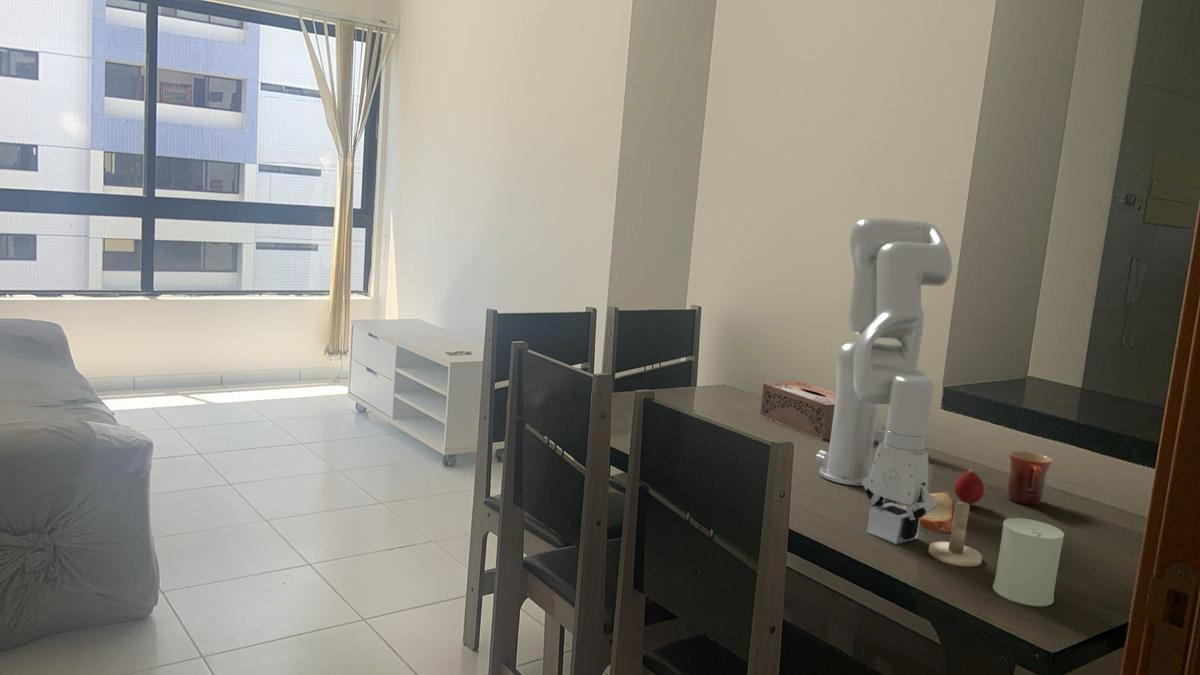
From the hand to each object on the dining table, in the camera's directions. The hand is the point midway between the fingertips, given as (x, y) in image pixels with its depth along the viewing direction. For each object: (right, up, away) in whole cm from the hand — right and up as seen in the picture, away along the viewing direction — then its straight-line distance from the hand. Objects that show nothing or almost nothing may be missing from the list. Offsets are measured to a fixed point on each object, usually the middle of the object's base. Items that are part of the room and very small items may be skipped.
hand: (892, 530), depth 171 cm
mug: (+38, 0, +27) cm, 47 cm away
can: (+14, -6, -22) cm, 27 cm away
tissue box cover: (+3, +11, +82) cm, 83 cm away
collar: (0, -1, 0) cm, 1 cm away
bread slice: (+13, 0, +15) cm, 20 cm away
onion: (+23, 0, +22) cm, 32 cm away
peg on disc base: (+9, -3, -8) cm, 12 cm away
